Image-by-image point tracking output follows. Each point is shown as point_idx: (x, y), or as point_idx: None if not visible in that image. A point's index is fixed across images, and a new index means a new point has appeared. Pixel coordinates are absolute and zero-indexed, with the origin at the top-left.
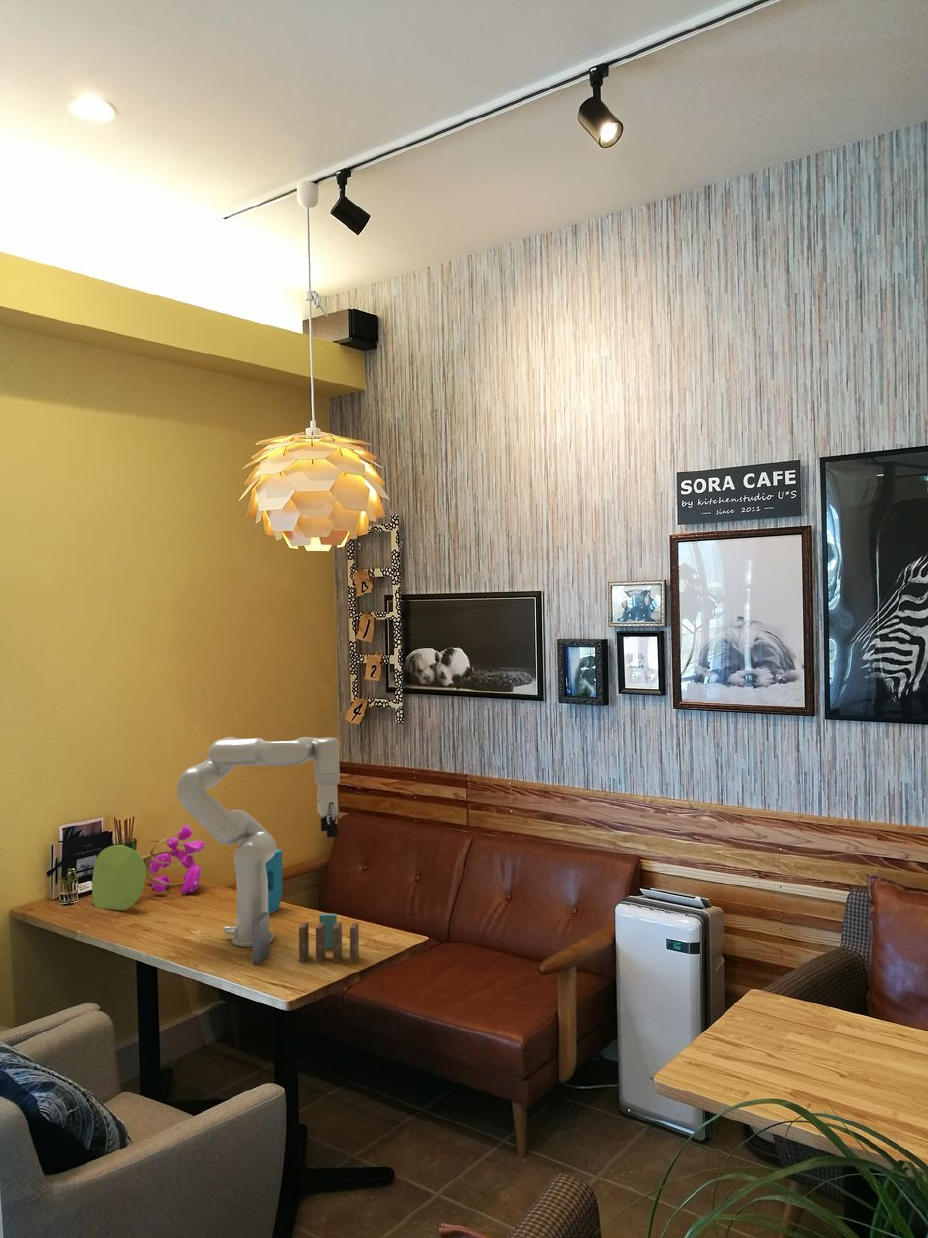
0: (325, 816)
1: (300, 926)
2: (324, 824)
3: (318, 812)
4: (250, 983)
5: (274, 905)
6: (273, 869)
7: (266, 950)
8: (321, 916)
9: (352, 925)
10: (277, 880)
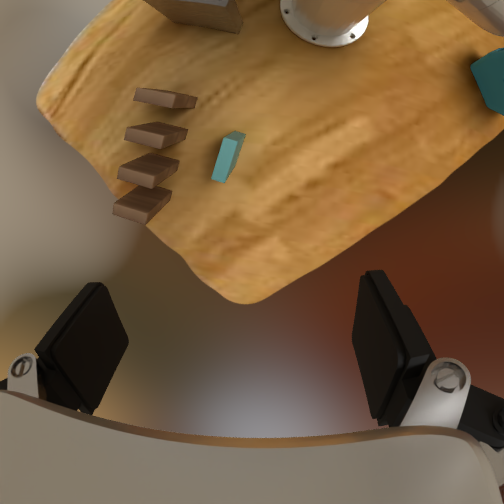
0: (400, 412)
1: (143, 90)
2: (372, 335)
3: (285, 468)
4: (95, 28)
5: (490, 98)
6: None
7: (215, 26)
8: (222, 142)
9: (130, 210)
10: None
